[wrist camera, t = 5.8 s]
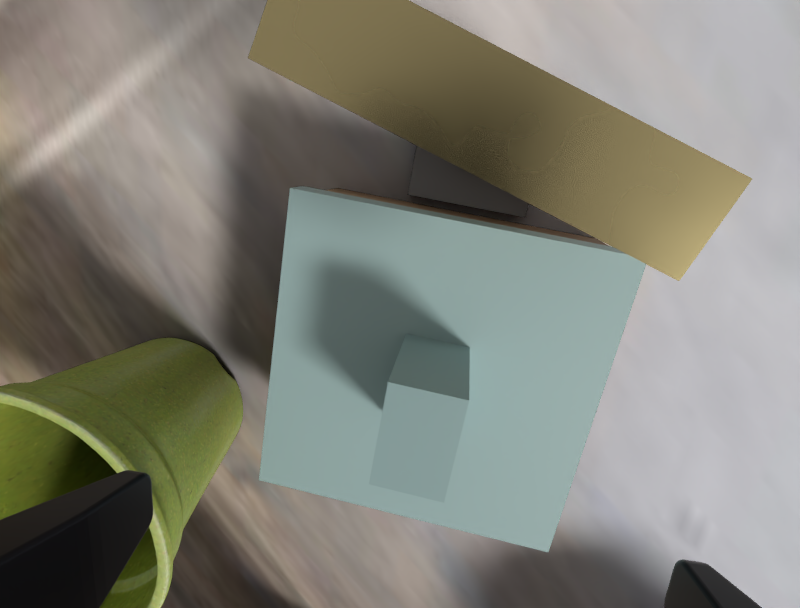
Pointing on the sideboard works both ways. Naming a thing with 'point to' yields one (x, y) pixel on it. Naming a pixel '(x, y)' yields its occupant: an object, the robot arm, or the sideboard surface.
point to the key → (504, 123)
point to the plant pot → (123, 443)
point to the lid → (439, 363)
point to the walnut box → (461, 193)
